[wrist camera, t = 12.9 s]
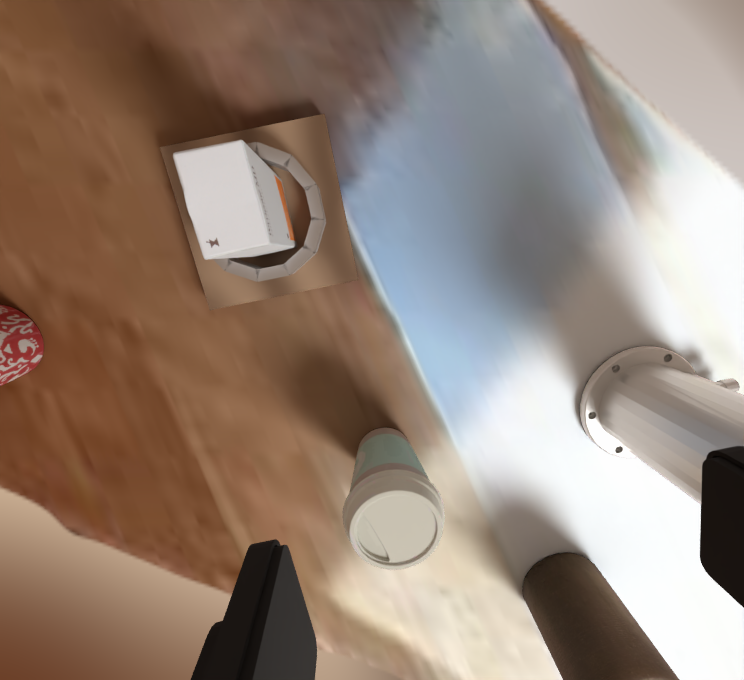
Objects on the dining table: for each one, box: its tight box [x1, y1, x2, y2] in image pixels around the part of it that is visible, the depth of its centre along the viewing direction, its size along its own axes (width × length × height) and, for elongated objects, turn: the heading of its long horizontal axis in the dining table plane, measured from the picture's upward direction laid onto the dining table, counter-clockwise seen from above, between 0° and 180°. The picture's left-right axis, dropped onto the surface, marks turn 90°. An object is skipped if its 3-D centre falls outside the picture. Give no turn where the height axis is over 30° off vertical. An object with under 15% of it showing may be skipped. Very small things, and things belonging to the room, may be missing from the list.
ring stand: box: [160, 114, 358, 310], centre depth 33 cm, size 14×14×4 cm
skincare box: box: [173, 140, 298, 260], centre depth 27 cm, size 6×4×12 cm
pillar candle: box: [523, 553, 679, 680], centre depth 40 cm, size 10×10×15 cm
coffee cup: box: [343, 428, 445, 570], centre depth 36 cm, size 9×8×12 cm
